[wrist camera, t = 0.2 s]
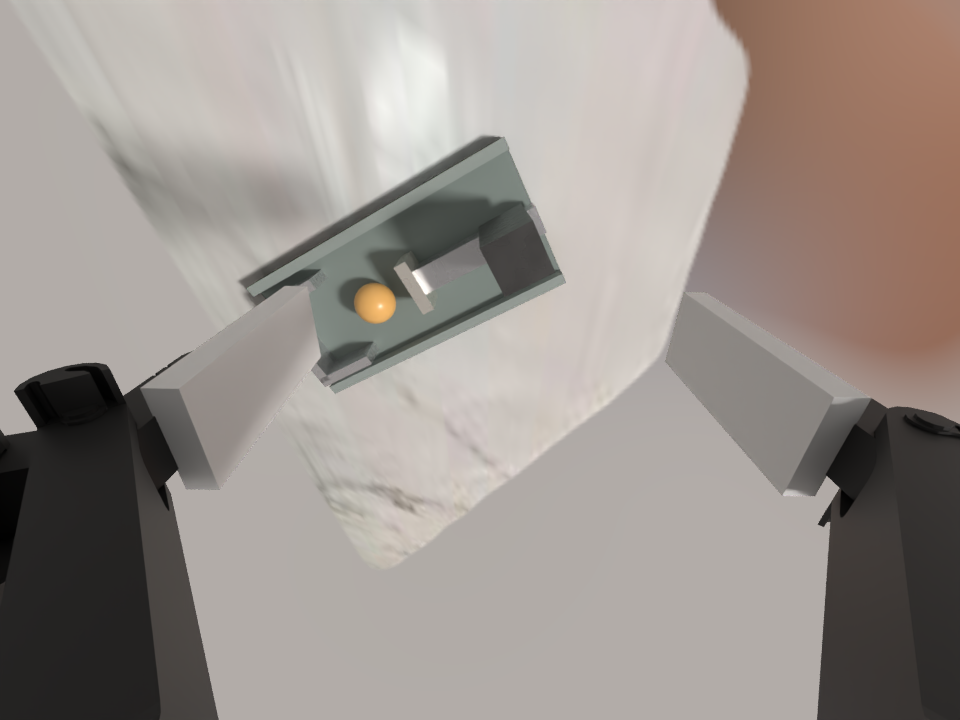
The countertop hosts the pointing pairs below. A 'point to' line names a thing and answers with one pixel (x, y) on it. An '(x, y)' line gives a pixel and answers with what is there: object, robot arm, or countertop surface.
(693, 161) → the countertop surface
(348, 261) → the grey-green channel tray
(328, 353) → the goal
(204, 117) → the countertop surface
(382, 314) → the ball
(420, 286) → the block
